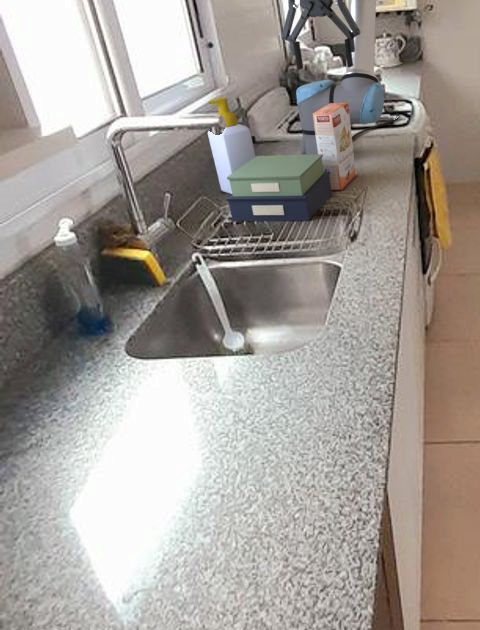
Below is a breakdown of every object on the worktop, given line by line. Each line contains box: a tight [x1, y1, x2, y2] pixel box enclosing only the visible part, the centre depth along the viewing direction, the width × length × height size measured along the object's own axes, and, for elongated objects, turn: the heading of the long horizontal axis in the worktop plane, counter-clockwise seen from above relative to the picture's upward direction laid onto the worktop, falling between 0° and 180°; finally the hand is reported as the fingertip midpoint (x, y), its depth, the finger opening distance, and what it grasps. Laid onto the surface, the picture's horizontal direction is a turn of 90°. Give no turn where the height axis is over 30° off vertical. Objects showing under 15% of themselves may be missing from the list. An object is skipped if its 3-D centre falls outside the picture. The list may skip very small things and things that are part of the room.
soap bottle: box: [207, 97, 256, 195], centre depth 166 cm, size 9×9×25 cm
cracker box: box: [313, 103, 357, 191], centre depth 167 cm, size 14×6×21 cm, turn 168°
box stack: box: [225, 154, 333, 222], centre depth 155 cm, size 21×21×11 cm
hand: (325, 67), depth 157 cm, fingers open, 13 cm apart
